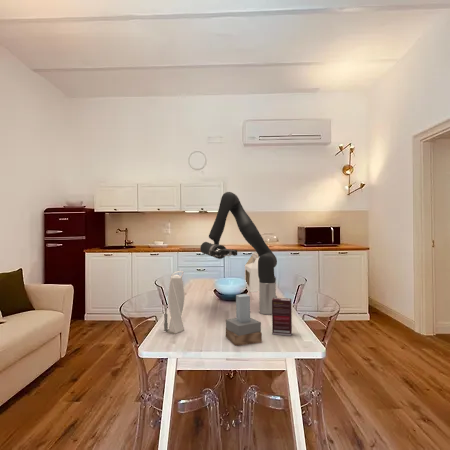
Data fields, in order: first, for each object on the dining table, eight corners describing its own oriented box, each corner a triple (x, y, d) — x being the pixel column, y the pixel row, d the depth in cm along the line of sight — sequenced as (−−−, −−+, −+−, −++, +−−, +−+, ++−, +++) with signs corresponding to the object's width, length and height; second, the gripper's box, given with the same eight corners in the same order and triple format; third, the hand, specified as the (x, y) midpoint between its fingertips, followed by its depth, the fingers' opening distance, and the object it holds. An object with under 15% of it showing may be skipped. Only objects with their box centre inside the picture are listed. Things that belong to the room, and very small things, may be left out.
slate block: (246, 318, 150) (245, 293, 150) (250, 321, 145) (249, 296, 145) (236, 319, 148) (236, 294, 148) (240, 322, 144) (239, 296, 144)
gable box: (244, 286, 268) (244, 251, 268) (261, 286, 270) (261, 251, 270) (250, 292, 246) (250, 254, 246) (268, 292, 248) (268, 253, 248)
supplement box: (291, 332, 155) (291, 298, 155) (291, 336, 151) (291, 300, 151) (273, 331, 158) (273, 297, 158) (271, 334, 153) (271, 299, 153)
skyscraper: (176, 327, 164) (176, 270, 164) (188, 331, 159) (188, 271, 159) (163, 332, 158) (163, 272, 158) (174, 335, 153) (174, 273, 152)
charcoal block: (247, 324, 154) (247, 316, 154) (260, 331, 144) (260, 322, 144) (225, 328, 149) (225, 319, 149) (238, 335, 139) (238, 326, 139)
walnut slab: (250, 334, 154) (250, 324, 154) (261, 343, 143) (261, 332, 143) (225, 337, 151) (225, 327, 151) (235, 346, 139) (235, 335, 139)
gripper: (205, 244, 183) (214, 246, 168) (230, 244, 188) (240, 246, 172) (205, 258, 183) (214, 261, 168) (230, 257, 188) (240, 260, 172)
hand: (227, 253), depth 170 cm, fingers open, 8 cm apart
